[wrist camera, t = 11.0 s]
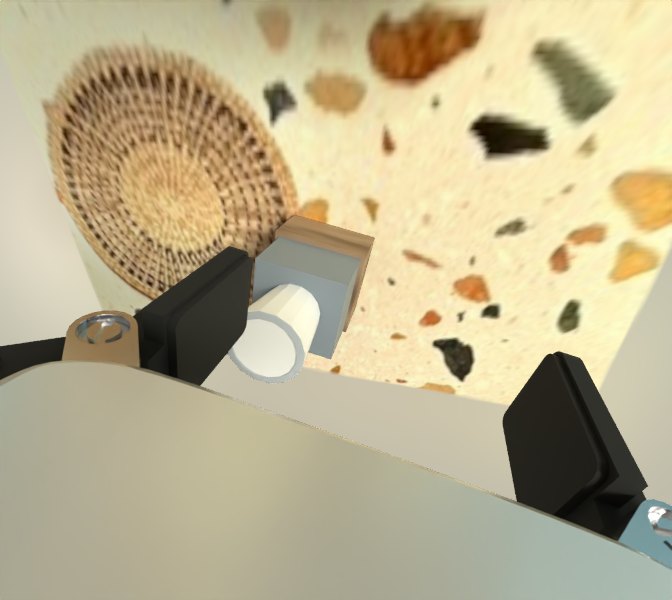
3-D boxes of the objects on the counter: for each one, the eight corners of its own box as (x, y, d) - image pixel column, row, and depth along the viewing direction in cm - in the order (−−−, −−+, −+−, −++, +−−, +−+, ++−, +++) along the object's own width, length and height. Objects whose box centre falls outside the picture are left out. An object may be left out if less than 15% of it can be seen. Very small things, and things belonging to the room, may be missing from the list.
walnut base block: (295, 214, 43) (275, 230, 38) (374, 237, 42) (365, 257, 37) (285, 284, 48) (267, 307, 43) (355, 306, 47) (345, 332, 42)
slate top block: (279, 236, 38) (255, 258, 33) (360, 259, 37) (348, 285, 32) (272, 305, 43) (250, 333, 38) (344, 327, 42) (330, 359, 37)
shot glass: (325, 280, 32) (301, 315, 26) (327, 344, 35) (306, 389, 29) (255, 275, 34) (217, 307, 28) (263, 336, 37) (230, 379, 31)
